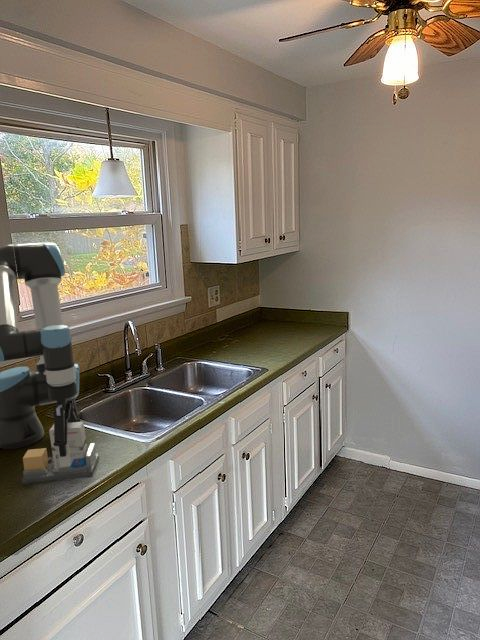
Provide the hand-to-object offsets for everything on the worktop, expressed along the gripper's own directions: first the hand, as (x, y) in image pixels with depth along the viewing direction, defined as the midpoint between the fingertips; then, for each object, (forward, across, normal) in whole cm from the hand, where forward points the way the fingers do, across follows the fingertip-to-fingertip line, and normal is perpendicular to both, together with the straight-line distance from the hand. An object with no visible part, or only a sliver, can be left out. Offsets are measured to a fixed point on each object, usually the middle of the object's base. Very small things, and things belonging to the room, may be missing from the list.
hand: (70, 455), depth 137 cm
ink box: (+3, 0, 0) cm, 3 cm away
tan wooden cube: (+3, 0, -9) cm, 10 cm away
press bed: (+4, 0, -2) cm, 5 cm away
